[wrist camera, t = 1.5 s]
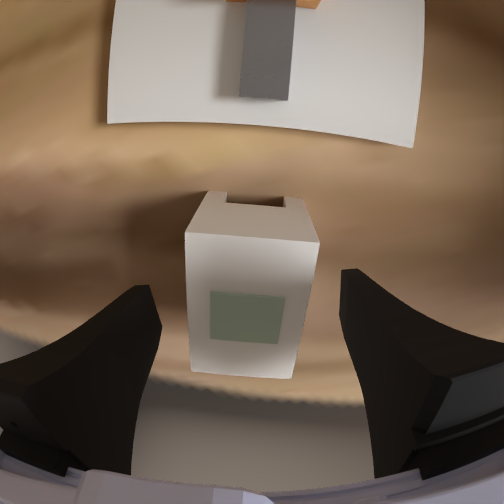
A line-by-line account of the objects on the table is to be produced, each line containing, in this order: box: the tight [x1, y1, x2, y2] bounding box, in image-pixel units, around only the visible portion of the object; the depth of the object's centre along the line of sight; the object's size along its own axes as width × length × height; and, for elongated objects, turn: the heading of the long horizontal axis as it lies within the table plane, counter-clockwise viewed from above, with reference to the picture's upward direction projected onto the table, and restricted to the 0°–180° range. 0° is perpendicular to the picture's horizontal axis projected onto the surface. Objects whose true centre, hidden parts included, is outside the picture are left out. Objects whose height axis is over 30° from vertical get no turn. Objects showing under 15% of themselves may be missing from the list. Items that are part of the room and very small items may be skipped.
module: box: [185, 191, 320, 379], centre depth 13 cm, size 4×6×5 cm, turn 176°
